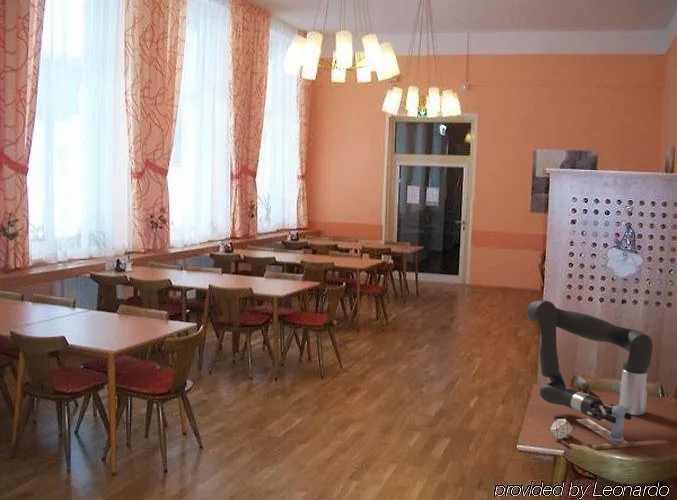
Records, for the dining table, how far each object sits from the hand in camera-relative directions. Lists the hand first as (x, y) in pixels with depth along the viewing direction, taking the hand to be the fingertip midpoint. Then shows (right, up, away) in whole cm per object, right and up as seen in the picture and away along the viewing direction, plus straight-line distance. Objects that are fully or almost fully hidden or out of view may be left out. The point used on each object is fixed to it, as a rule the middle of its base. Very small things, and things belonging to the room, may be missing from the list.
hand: (623, 418), depth 258 cm
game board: (-7, -8, +11) cm, 15 cm away
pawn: (-2, -8, +3) cm, 9 cm away
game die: (-21, -8, +3) cm, 23 cm away
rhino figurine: (+6, -2, +62) cm, 63 cm away
